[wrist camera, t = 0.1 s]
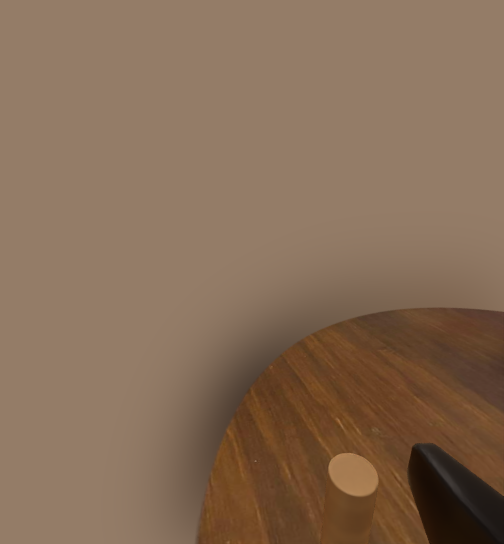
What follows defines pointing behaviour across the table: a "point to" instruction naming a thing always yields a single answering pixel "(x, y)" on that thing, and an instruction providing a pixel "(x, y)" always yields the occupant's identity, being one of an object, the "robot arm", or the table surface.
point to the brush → (349, 500)
